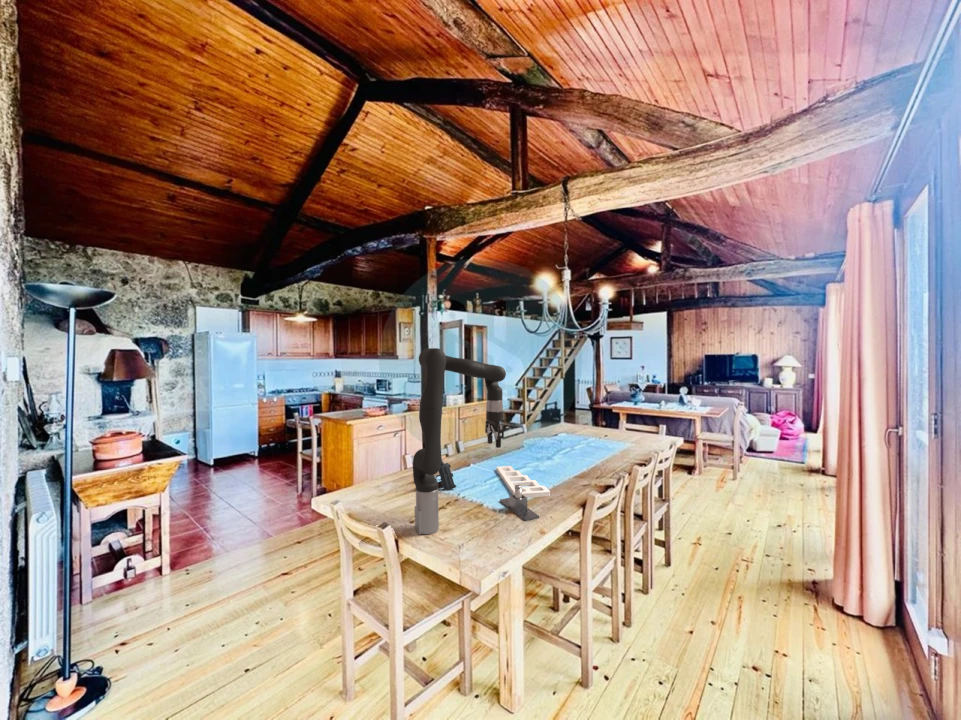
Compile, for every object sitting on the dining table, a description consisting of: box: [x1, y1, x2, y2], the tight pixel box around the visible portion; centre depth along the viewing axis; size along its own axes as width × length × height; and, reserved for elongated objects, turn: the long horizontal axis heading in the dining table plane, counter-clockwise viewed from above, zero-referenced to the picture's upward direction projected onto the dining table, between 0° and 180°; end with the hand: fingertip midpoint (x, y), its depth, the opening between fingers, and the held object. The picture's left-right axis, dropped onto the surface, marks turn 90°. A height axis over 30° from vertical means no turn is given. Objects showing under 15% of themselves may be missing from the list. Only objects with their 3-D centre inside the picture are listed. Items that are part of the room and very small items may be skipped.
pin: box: [515, 485, 523, 499], centre depth 188 cm, size 3×3×11 cm
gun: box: [435, 459, 457, 492], centre depth 213 cm, size 3×17×15 cm
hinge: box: [499, 494, 540, 522], centre depth 188 cm, size 7×24×6 cm, turn 25°
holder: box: [496, 465, 551, 499], centre depth 225 cm, size 45×18×3 cm, turn 10°
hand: (494, 445), depth 185 cm, fingers open, 8 cm apart
